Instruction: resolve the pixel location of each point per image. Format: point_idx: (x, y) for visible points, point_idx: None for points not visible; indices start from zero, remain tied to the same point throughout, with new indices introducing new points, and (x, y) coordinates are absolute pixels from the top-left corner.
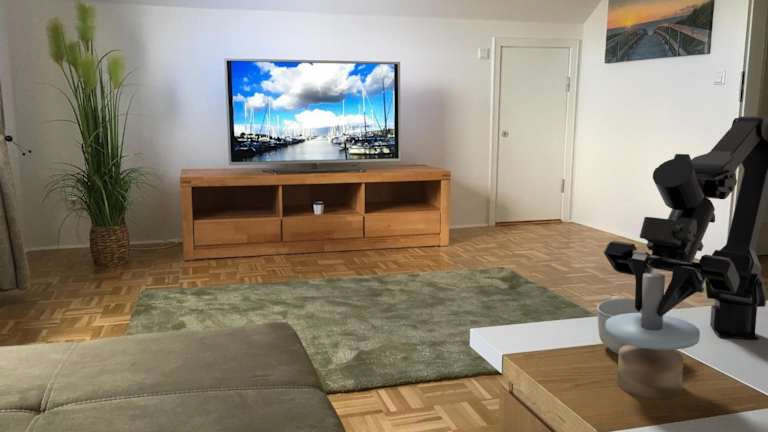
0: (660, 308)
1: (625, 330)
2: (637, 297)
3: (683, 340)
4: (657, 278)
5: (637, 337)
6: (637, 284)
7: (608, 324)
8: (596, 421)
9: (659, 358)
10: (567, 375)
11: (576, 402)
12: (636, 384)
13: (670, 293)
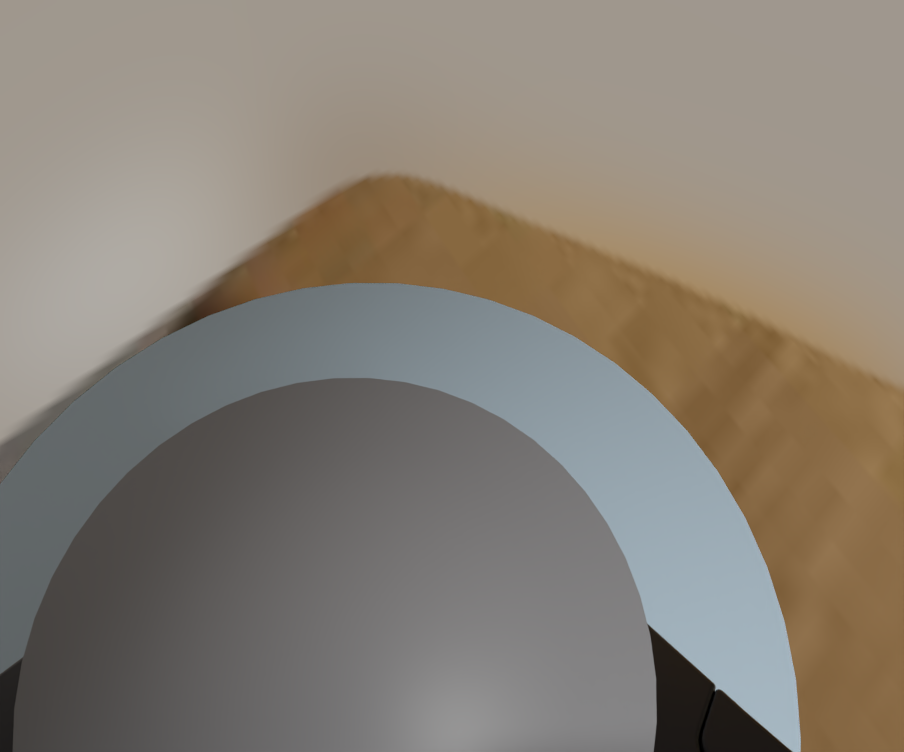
0: None
1: (499, 415)
2: None
3: (7, 519)
4: (158, 458)
5: (349, 332)
6: (712, 709)
7: (678, 453)
8: (384, 185)
9: None
10: (737, 478)
11: (530, 266)
12: None
13: (14, 682)
